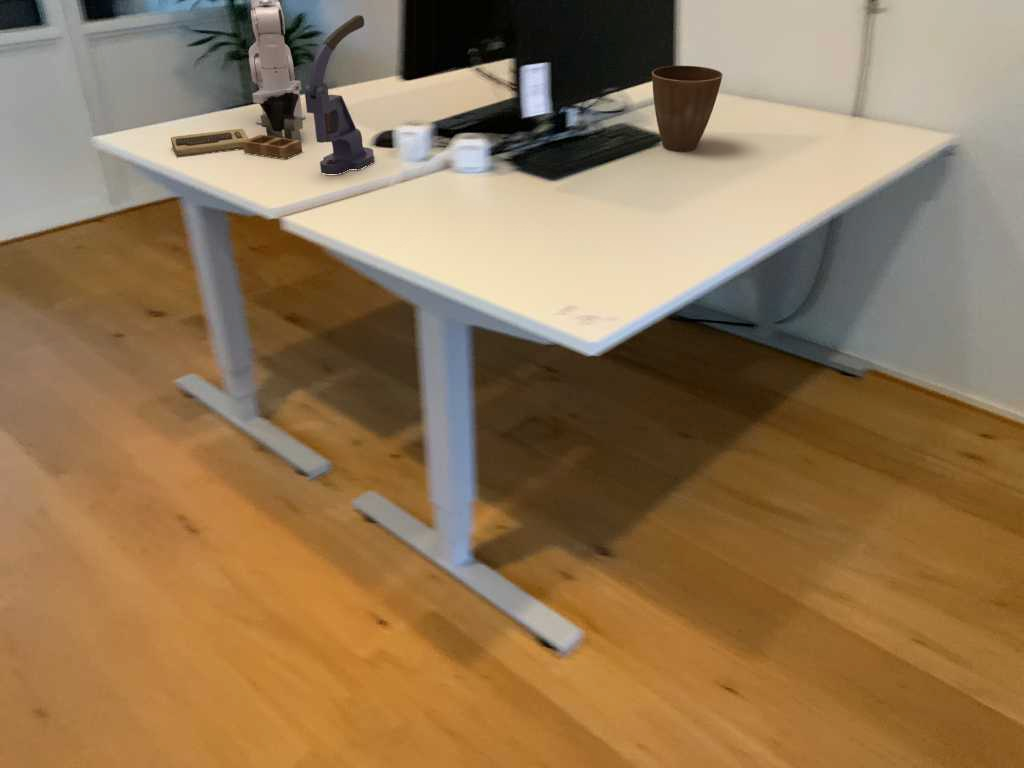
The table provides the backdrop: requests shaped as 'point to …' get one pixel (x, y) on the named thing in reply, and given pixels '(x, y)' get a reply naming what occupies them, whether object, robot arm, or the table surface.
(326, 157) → the hand press
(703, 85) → the plant pot
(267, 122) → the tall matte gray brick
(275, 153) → the rectangular frame with crossbar
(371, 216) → the table surface
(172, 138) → the beige retro keyboard
